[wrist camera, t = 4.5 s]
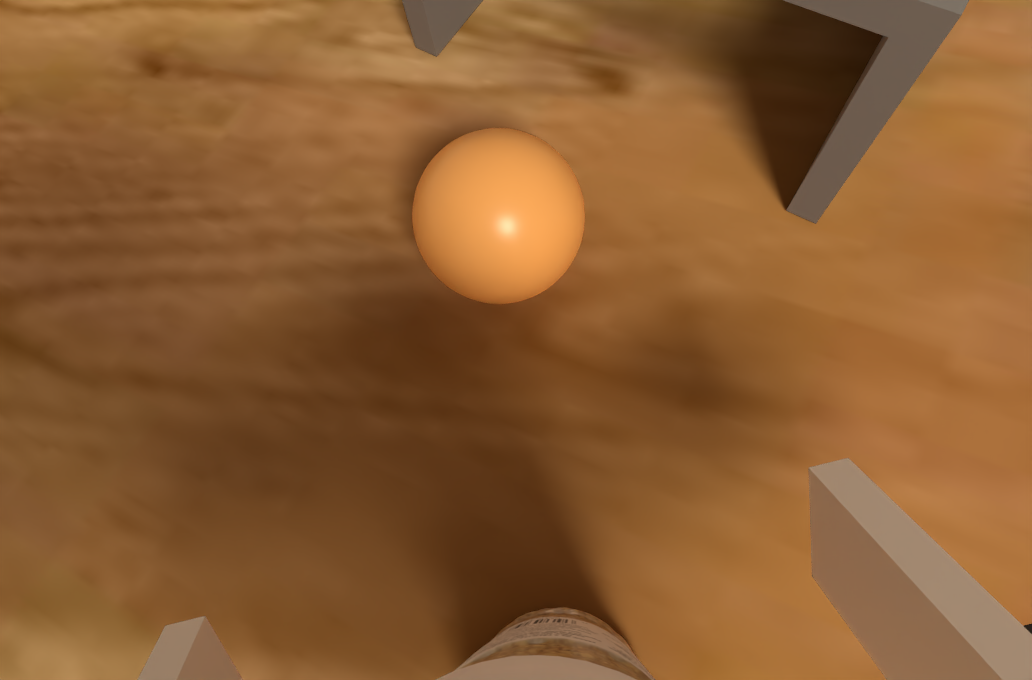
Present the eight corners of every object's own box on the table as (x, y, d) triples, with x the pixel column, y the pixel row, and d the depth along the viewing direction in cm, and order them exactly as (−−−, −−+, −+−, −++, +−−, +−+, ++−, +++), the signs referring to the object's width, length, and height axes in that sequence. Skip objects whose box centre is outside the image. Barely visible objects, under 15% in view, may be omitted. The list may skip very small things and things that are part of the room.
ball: (402, 284, 20) (353, 198, 16) (485, 171, 22) (461, 62, 17) (531, 357, 19) (519, 287, 15) (611, 233, 21) (623, 132, 16)
